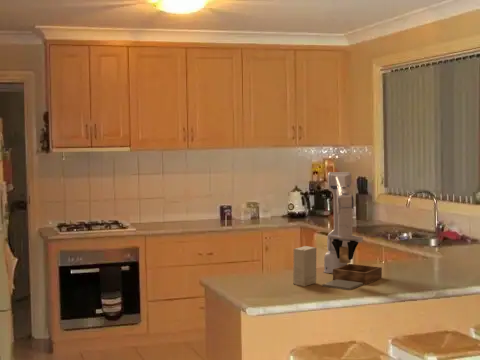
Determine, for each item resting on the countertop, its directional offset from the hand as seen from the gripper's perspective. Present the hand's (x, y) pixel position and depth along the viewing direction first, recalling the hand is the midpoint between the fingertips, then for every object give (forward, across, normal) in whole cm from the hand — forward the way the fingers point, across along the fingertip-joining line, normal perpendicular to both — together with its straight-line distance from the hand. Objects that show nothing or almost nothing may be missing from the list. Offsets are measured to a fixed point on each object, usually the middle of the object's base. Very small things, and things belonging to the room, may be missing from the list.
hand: (344, 258), depth 294 cm
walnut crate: (+10, -1, +13) cm, 17 cm away
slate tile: (+10, 0, -2) cm, 11 cm away
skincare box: (+11, -14, -8) cm, 19 cm away
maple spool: (+1, 0, 0) cm, 1 cm away
